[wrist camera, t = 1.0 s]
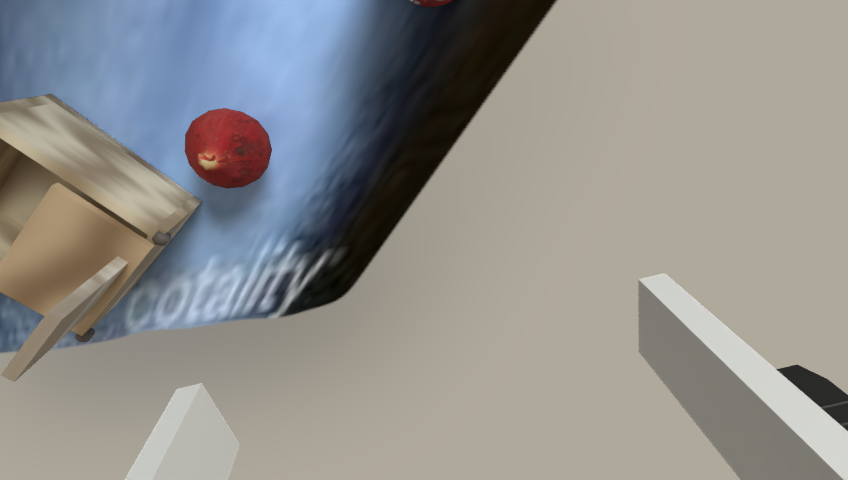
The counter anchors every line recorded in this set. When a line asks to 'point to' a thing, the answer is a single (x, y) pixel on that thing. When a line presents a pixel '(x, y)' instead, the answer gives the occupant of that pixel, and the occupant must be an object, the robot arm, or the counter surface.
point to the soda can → (430, 2)
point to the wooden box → (82, 178)
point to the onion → (227, 148)
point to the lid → (66, 269)
